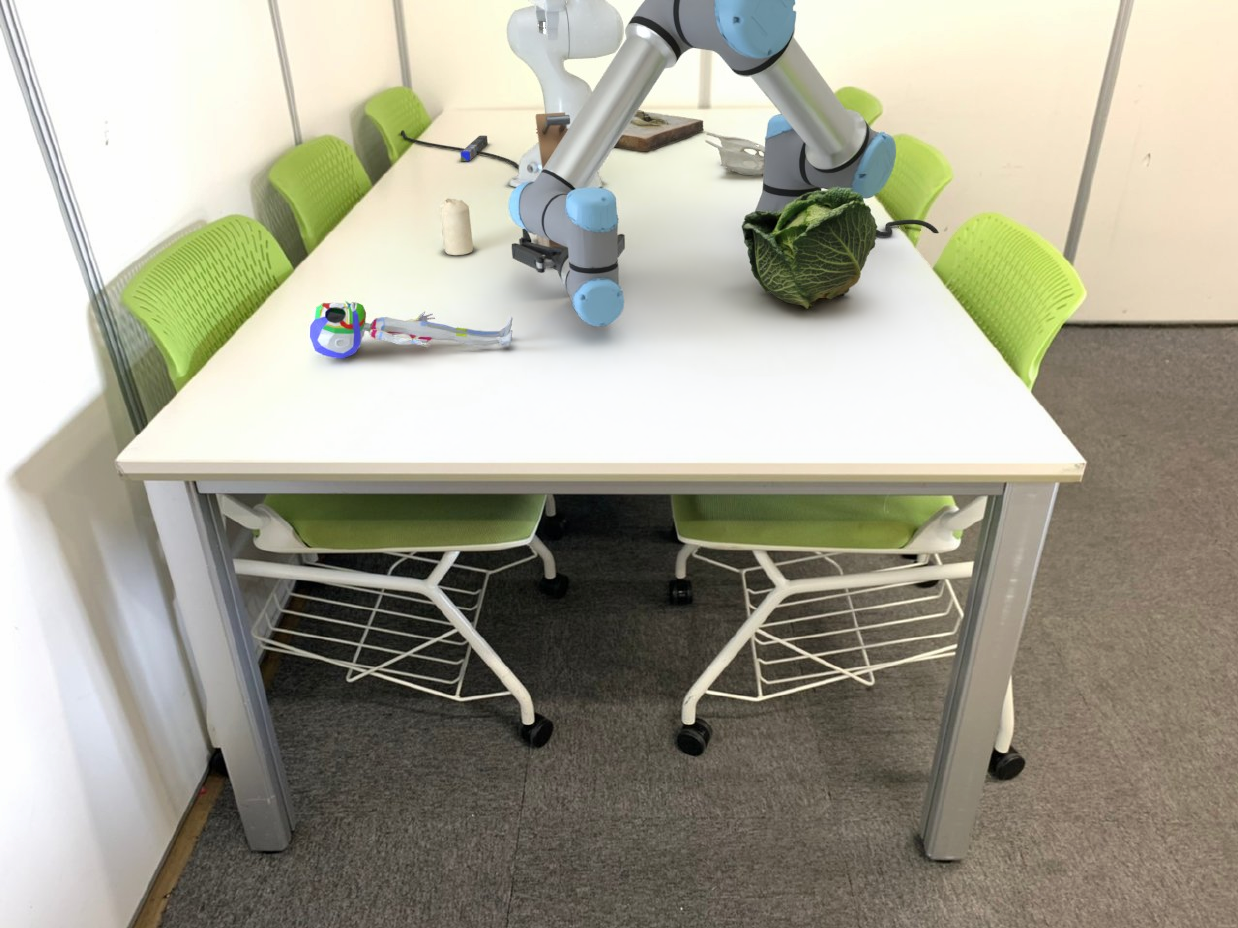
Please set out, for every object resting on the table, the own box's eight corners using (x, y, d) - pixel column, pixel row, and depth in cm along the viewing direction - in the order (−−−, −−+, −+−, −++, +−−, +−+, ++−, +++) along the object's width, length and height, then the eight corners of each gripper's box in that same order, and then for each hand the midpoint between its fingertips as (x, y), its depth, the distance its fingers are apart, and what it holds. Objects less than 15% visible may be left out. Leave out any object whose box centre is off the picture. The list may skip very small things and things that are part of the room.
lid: (535, 115, 160) (541, 101, 152) (564, 114, 161) (571, 99, 153) (546, 210, 162) (553, 201, 154) (575, 208, 163) (583, 198, 155)
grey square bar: (487, 135, 252) (468, 152, 235) (487, 143, 253) (469, 161, 236) (479, 135, 252) (460, 152, 235) (480, 143, 253) (461, 161, 236)
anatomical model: (707, 129, 226) (808, 127, 222) (707, 166, 231) (805, 165, 227) (703, 143, 213) (809, 141, 210) (703, 182, 218) (807, 181, 215)
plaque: (647, 125, 237) (559, 112, 252) (647, 153, 241) (560, 139, 256) (706, 107, 258) (622, 97, 273) (705, 133, 262) (622, 121, 277)
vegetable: (769, 324, 161) (717, 226, 153) (855, 264, 162) (809, 164, 154) (822, 342, 142) (766, 232, 135) (919, 274, 144) (869, 162, 136)
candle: (478, 247, 177) (472, 197, 172) (465, 256, 173) (459, 205, 168) (453, 245, 179) (447, 194, 174) (439, 254, 174) (433, 202, 169)
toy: (513, 328, 132) (301, 311, 127) (509, 379, 136) (304, 364, 132) (513, 302, 141) (314, 285, 136) (509, 351, 145) (317, 336, 140)
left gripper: (573, -56, 137) (577, 43, 145) (551, -60, 154) (556, 29, 162) (532, -55, 136) (538, 45, 143) (515, -59, 153) (521, 30, 160)
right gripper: (509, 301, 147) (495, 258, 165) (656, 286, 152) (627, 247, 169) (505, 256, 143) (492, 218, 161) (656, 243, 148) (627, 207, 165)
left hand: (547, 36), depth 153 cm, fingers open, 8 cm apart
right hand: (561, 232), depth 165 cm, fingers open, 13 cm apart
